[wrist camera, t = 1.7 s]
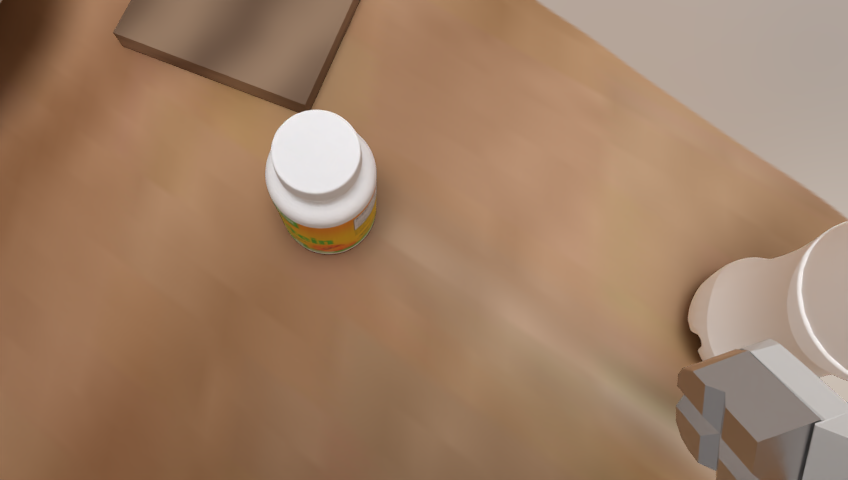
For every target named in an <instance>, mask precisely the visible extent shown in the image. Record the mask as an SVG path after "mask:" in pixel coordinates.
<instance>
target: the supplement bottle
mask: <svg viewBox="0 0 848 480" xmlns="http://www.w3.org/2000/svg"><path fill="white" fill-rule="evenodd" d="M265 179H266V185H267V188H268V191H269V194H270V196H271V199H272V201H273V203H274V204H275V206H276V208H277V210H278V212H279V214H280V216H281V218H282V220H283V222H284V224H285V226H286V228H287V230H288V232H289V233H290V234H291V236H292V237H293V238H294V239H295V240H296V241H297V242H298V243H299V244H300V245H302V246H303V247H305V248H306V249H308V250H310V251H313V252H316V253H321V254H337V253H341V252H345V251H347V250H349V249H351V248H353V247H355V246H356V245H358V244H359V243H360V242H361V241H362V240H363V239H364V238H365V237H366V236H367V234H368V233H369V231H370V230H371V228H372V226H373V223H374V219H375V215H376V186H377V171H376V164H375V160H374V156H373V154H372V152H371V150H370V148H369V146H368V145H367V143H366V142H365V141H364V139H363V138H362V137H361V136H360V135H359V134H357V133H356V132H355V130H354V128H353V127H352V126H351V125H350V124H349V123H348V122H347V121H346V120H345V119H344V118H342V117H341V116H339V115H337V114H335V113H332V112H329V111H325V110H307V111H303V112H300V113H298V114H295V115H294V116H292V117H290V118H289V119H287V120H286V121H285V122H284V123H283V124H282V125H281V126H280V127H279V129H278V130H277V132H276V134H275V136H274V138H273V141H272V145H271V151H270V153H269V156H268V159H267V163H266V171H265Z"/></svg>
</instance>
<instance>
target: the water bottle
mask: <svg viewBox="0 0 848 480" xmlns="http://www.w3.org/2000/svg"><path fill="white" fill-rule="evenodd" d="M688 323H689V326H690V330H691V331H692V332H693V333H695V334H698V336H699V337H700V339H701V344H702V346H701V347H700V348H699V349H698V353H699V355H700V357H701V359H702V361H704V360H707V359H709V358H712V357H715V356H718V355H721V354H723V353H726V352H729V351H732V350H735V349H740V348H743V347H746V346H749V345H751V344H754V343H757V342H760V341H763V340H766V339H772V340H774V341H777V342H778V343H780V344H781V345H782V346H783V347H784V348H786V349H787V350H788V351H789V352H790V353H791V354H792V355H794V356H795V357H796V358H797V359H798V360H799V361H800V362H802V363H803V364H804V365H805V366H806V367H807V368H809V369H810V370H811V371H812V372H813V373H814V374H815V375H817V376H818V377H819V378H820V377H822V376H826V375H834V376H837V377H839V378H841V379H843V380H846V381H848V221H846V222H843V223H840V224H838V225H836V226H834V227H832V228H830V229H829V230H827V231H826V232H824V233H823V234H821V235H820V236H819V237H817V238H816V239H815V240H813V241H811V242H810V243H808V244H807V245H805V246H804V247H802V248H800V249H798V250H795V251H793V252H791V253H788V254H786V255H783V256H780V257H776V258H773V259H766V258H759V257H750V258H744V259H740V260H737V261H734V262H732V263H729V264H727V265H725V266H724V267H722V268H721V269H719V270H718V271H716V272H715V273H714V274H712V275H711V276H710V277H709V278H708V279H706V280H705V281H704V282H703V283H702V284H701V285H700V287H699V288H698V290H697V291H696V293H695V295H694V297H693V299H692V301H691V304H690V307H689V313H688Z"/></svg>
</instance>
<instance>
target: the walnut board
mask: <svg viewBox="0 0 848 480" xmlns="http://www.w3.org/2000/svg"><path fill="white" fill-rule="evenodd" d="M359 1H360V0H131V1H130V3H129V5H128V7H127V9H126V10H125V12H124V14H123V16H122V18H121V19H120V21H119V23H118V25H117V27H116V28H115V30H114V32H113V33H114V35H115V36H116V37H117V39H118V40H119V41H120V43H121V44H122V46H124V47H127V48H130V49H132V50H135V51H138V52H140V53H143V54H145V55H148V56H151V57H153V58H156V59H159V60H161V61H164V62H167V63H169V64H172V65H175V66H177V67H180V68H183V69H185V70H188V71H190V72H193V73H196V74H198V75H201V76H204V77H206V78H209V79H212V80H214V81H217V82H220V83H222V84H225V85H228V86H230V87H233V88H235V89H238V90H241V91H243V92H246V93H249V94H251V95H254V96H257V97H259V98H262V99H265V100H267V101H270V102H273V103H275V104H278V105H280V106H283V107H286V108H288V109H291V110H294V111H296V112H299V113H300V112H303V111H307V110H310V109H311V107H312V105H313V103H314V100H315V98H316V96H317V94H318V92H319V89H320V87H321V85H322V83H323V81H324V78H325V76H326V74H327V72H328V70H329V67H330V65H331V63H332V61H333V59H334V56H335V54H336V52H337V50H338V48H339V45H340V43H341V41H342V39H343V37H344V34H345V32H346V30H347V28H348V26H349V23H350V21H351V19H352V17H353V14H354V12H355V10H356V8H357V6H358V3H359Z"/></svg>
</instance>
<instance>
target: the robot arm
mask: <svg viewBox="0 0 848 480" xmlns="http://www.w3.org/2000/svg"><path fill="white" fill-rule="evenodd" d="M677 386H678V388H679V389H680V390H681V391H682V392H683V393H684V395H683V397H682V398H681V399H680V401H679V402H678V404H677V405H676V422H677V426H678V429H679V432H680V435H681V438H682V439H683V441H684V443H685V445H686V447H687V448H688V450H689V451H690V453H691V454H692V455H693V457H694V458H695V459H696V461H697V462H698V463H700V464H702V465H704V466H707V467H709V468H711V469H713V470H715V471H716V480H848V402H846V401H845V400H844V399H843V398H842V397H841V396H840V395H838V394H837V393H836V392H835V391H834V390H833V389H831V388H830V387H829V386H828V385H827V384H826V383H824V382H823V381H822V380H821V379H820V378H819V377H818V376H817V375H815V374H814V373H813V372H812V371H811V370H810V369H809V368H807V367H806V366H805V365H804V364H803V363H802V362H800V361H799V360H798V359H797V358H796V357H795V356H794V355H792V354H791V353H790V352H789V351H788V350H787V349H786V348H784V347H783V346H782V345H781V344H780V343H778V342H777V341H774V340H772V339H766V340H763V341H760V342H757V343H754V344H751V345H749V346H746V347H743V348H740V349H735V350H732V351H729V352H726V353H723V354H721V355H718V356H715V357H712V358H709V359H707V360H704V361H701V362H698V363H696V364H693V365H690V366H687V367H684V368H682V370H681V371H680V372H679V374H678V383H677Z"/></svg>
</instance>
